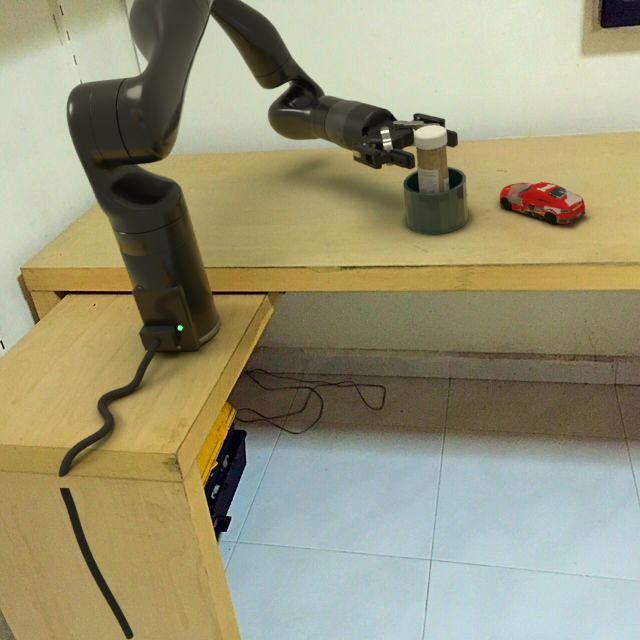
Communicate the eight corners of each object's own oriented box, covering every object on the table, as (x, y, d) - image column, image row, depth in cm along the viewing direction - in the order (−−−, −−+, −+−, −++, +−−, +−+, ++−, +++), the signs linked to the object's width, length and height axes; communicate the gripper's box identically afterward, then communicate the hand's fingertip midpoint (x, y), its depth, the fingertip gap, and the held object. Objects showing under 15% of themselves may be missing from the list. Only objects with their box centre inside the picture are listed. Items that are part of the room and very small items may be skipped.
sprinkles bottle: (457, 214, 111) (453, 128, 104) (434, 226, 110) (428, 139, 102) (437, 205, 115) (431, 121, 107) (414, 216, 113) (406, 132, 105)
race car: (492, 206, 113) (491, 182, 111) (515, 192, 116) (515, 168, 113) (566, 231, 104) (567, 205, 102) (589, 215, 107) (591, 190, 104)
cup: (467, 232, 108) (465, 192, 104) (405, 236, 110) (401, 196, 106) (467, 203, 115) (466, 164, 111) (409, 207, 117) (405, 168, 113)
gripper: (321, 120, 111) (396, 144, 100) (391, 89, 118) (468, 108, 107) (328, 166, 116) (401, 194, 105) (395, 134, 122) (470, 157, 111)
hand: (435, 151), depth 106 cm, fingers open, 8 cm apart
